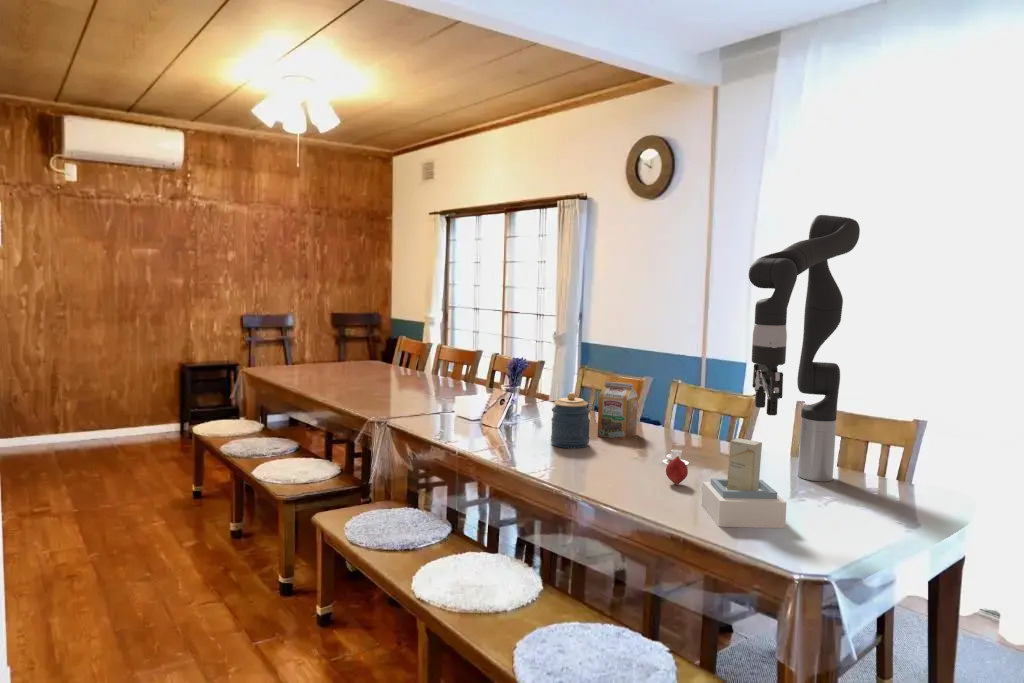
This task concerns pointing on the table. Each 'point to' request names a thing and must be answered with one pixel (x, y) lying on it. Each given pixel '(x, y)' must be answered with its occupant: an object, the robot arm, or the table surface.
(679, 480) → the onion
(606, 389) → the milk carton
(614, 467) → the table surface
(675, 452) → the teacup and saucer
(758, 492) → the frame
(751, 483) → the skincare box
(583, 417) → the canister
